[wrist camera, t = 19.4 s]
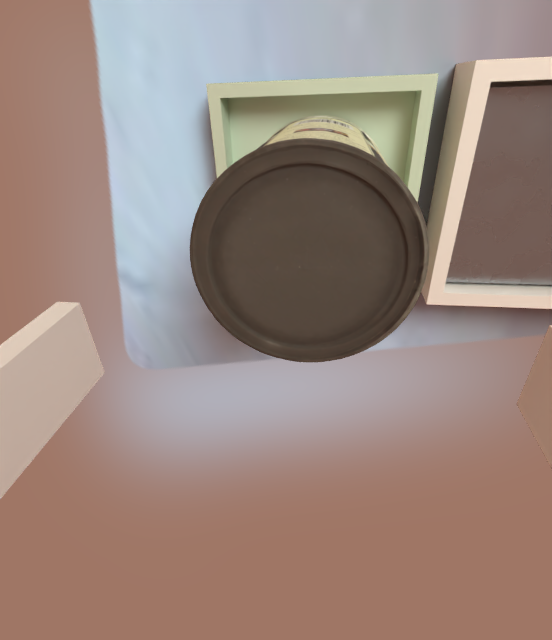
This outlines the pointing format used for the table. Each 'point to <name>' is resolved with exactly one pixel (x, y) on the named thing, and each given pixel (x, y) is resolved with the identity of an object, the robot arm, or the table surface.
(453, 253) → the plate
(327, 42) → the table surface
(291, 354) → the coffee can
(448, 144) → the checker cradle
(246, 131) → the tray
